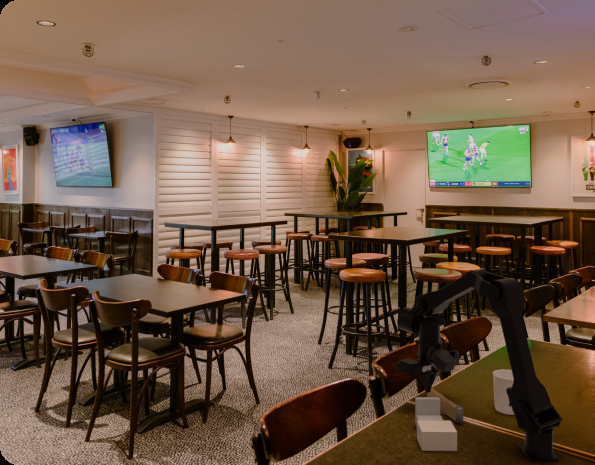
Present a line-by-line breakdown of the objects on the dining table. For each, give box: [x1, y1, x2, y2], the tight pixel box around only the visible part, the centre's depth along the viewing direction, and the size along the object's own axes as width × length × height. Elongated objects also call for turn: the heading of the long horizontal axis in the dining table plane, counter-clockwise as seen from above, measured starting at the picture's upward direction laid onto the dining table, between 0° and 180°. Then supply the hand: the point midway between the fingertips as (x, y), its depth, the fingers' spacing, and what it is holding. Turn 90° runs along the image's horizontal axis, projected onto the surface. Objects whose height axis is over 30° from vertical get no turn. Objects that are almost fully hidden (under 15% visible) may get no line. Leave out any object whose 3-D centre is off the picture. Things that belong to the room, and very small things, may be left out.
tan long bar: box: [424, 387, 464, 424], centre depth 139 cm, size 18×2×4 cm, turn 15°
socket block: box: [416, 420, 458, 452], centre depth 120 cm, size 6×8×4 cm
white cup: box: [492, 368, 515, 416], centre depth 139 cm, size 8×8×10 cm
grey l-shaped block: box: [414, 396, 444, 428], centre depth 127 cm, size 7×6×7 cm
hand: (427, 392), depth 144 cm, fingers closed
